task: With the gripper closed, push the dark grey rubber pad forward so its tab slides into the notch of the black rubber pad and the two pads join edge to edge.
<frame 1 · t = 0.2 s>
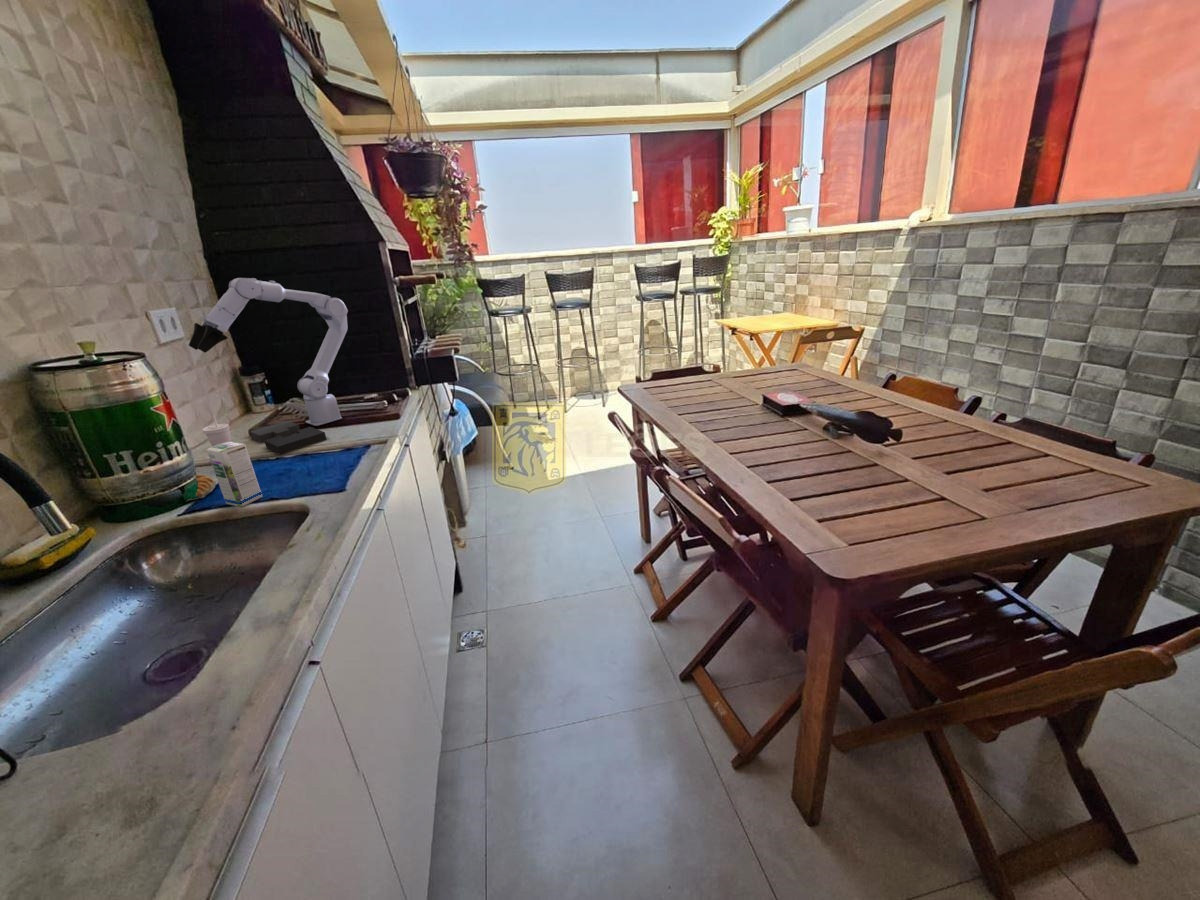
hand: (196, 349, 142), 31 cm above the counter, tool tilted 45°, fingers open, 7 cm apart
base pad: (296, 443, 154), on the counter
syrup box: (245, 501, 119), on the counter
pastry: (200, 494, 124), on the counter
smoothie: (227, 457, 146), on the counter
loose pad: (276, 434, 163), on the counter
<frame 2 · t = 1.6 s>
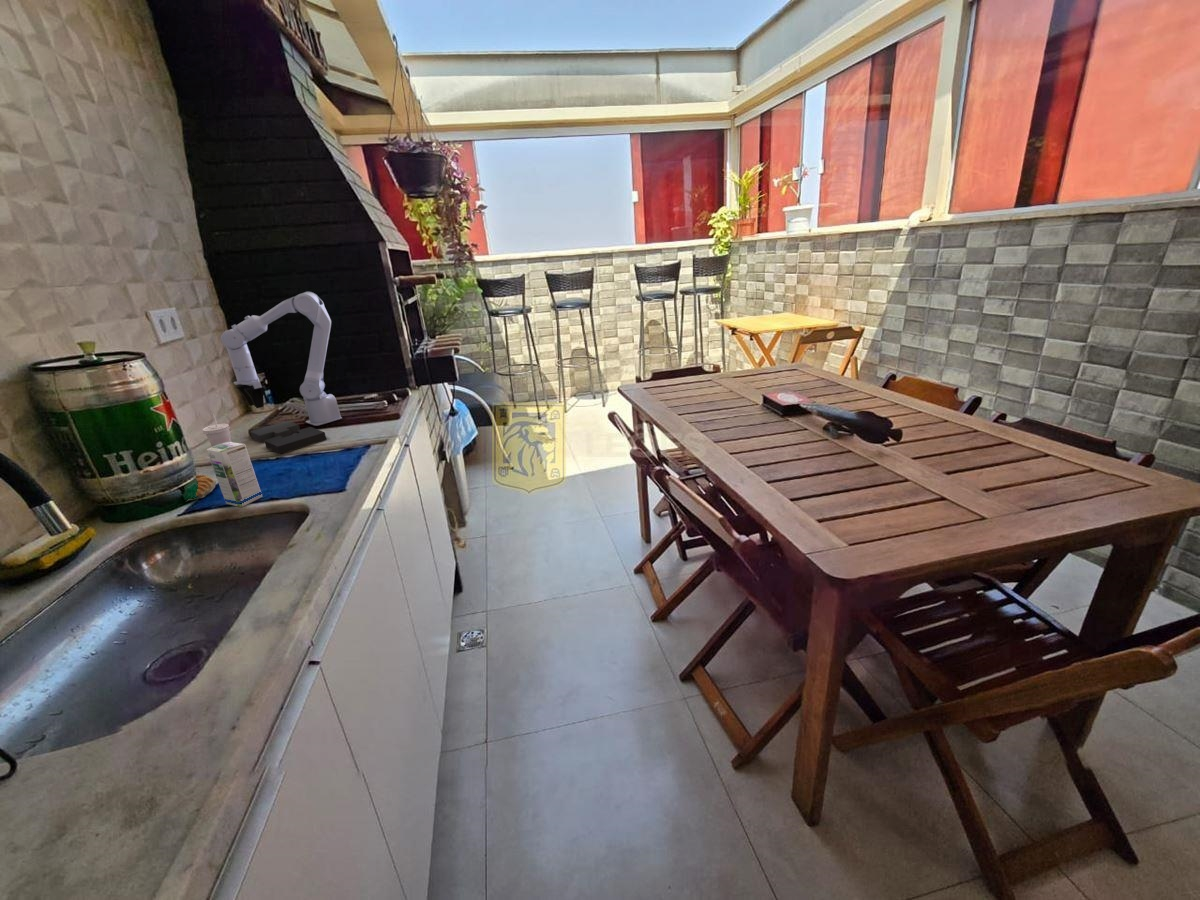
hand: (256, 406, 165), 8 cm above the counter, tool pointing down, fingers open, 5 cm apart
nothing on the counter moved.
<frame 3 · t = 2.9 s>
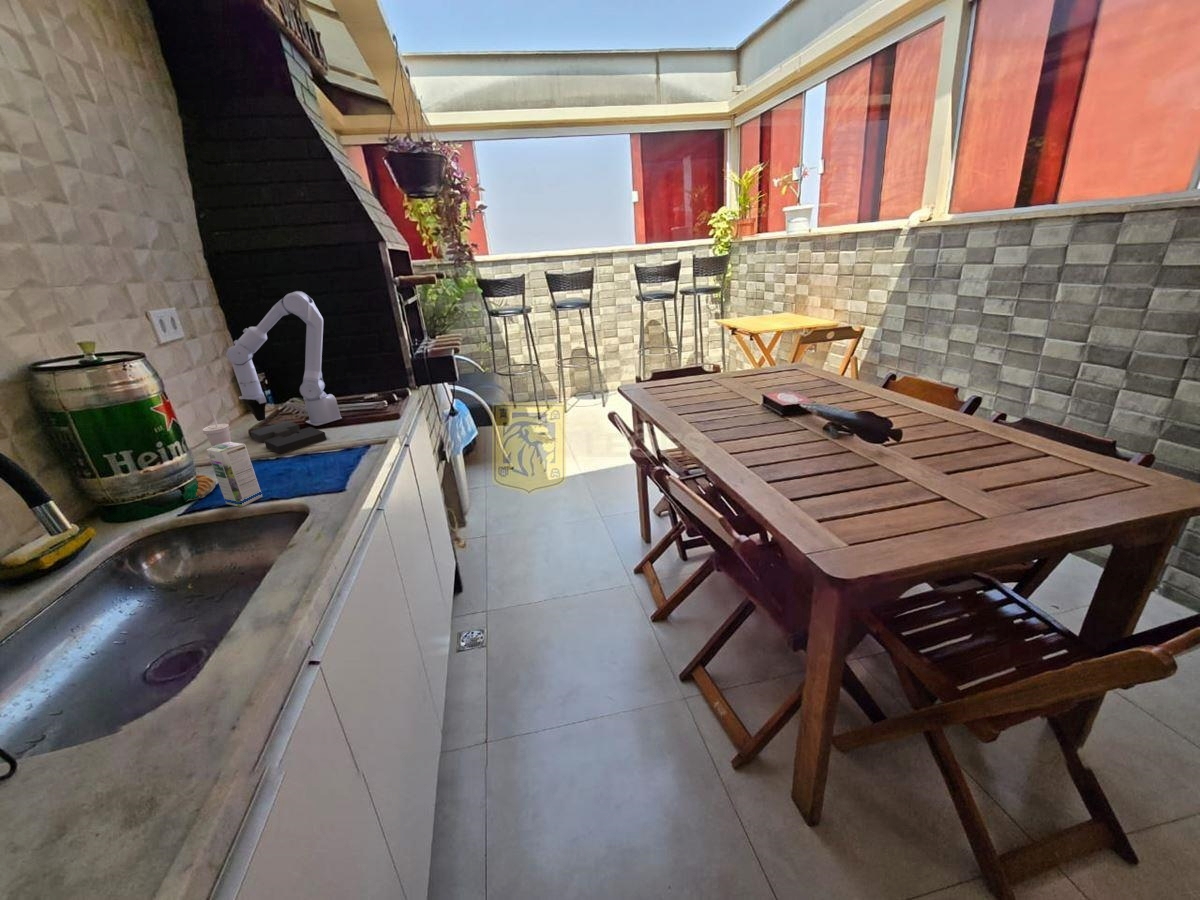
hand: (261, 420, 167), 3 cm above the counter, tool pointing down, fingers closed
nothing on the counter moved.
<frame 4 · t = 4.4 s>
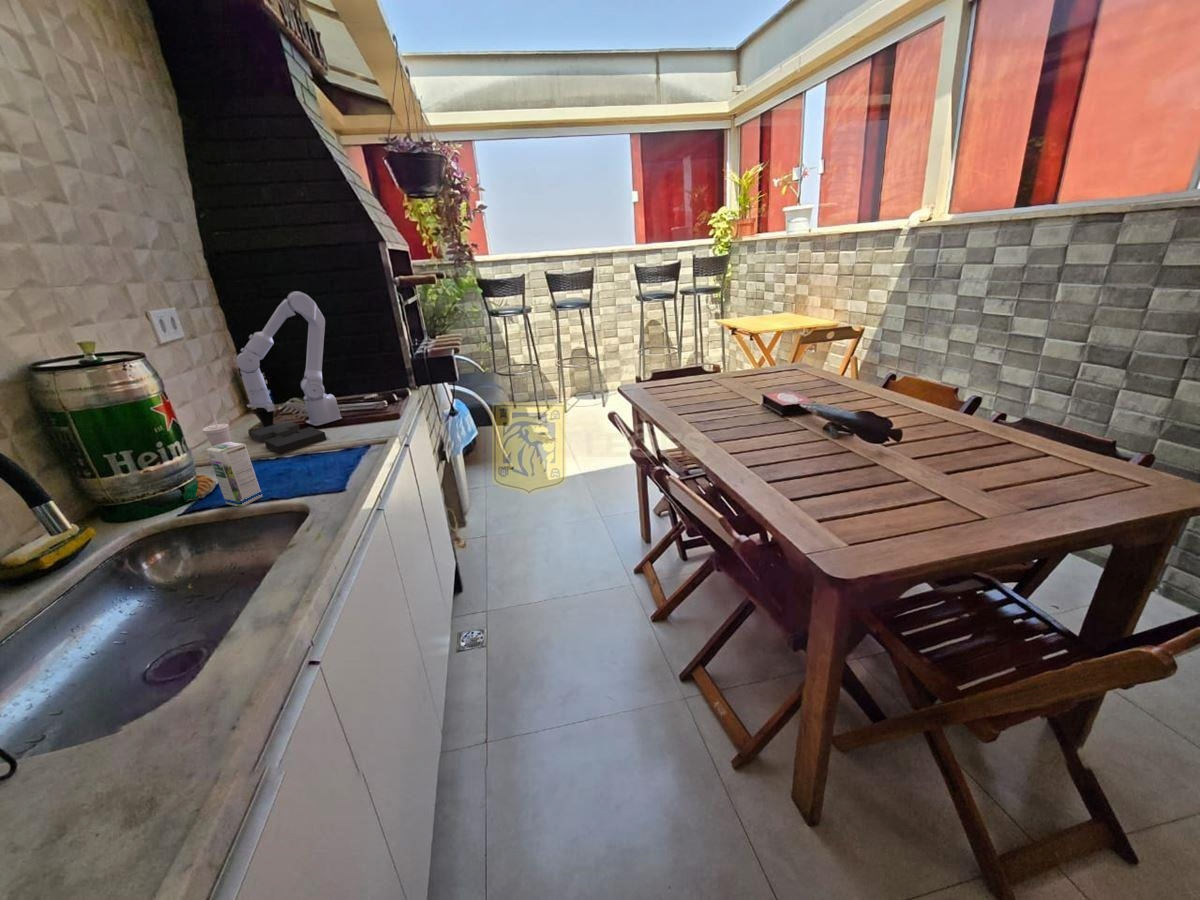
hand: (269, 428, 165), 1 cm above the counter, tool pointing down, fingers closed
loose pad: (276, 434, 163), on the counter, touching gripper
everything else where it was.
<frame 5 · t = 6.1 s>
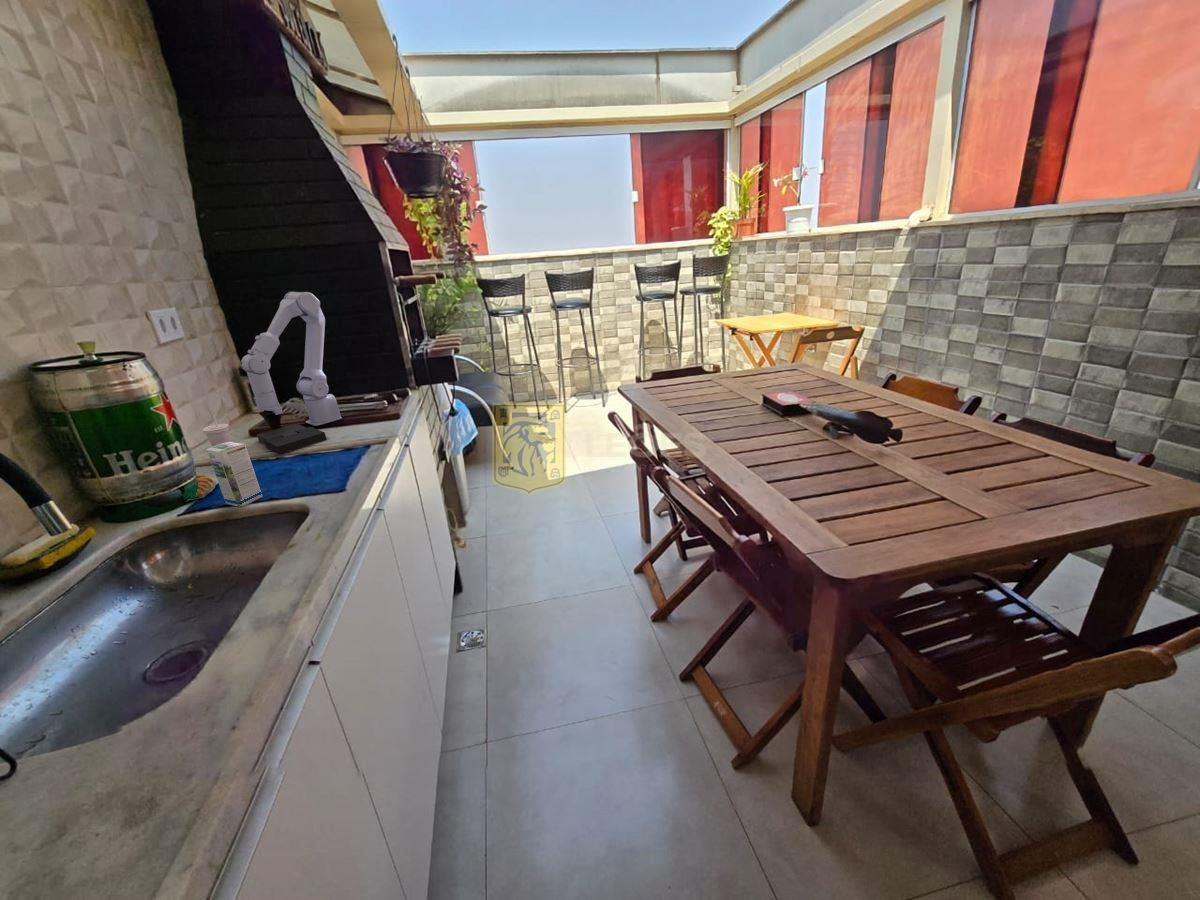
hand: (276, 431, 162), 1 cm above the counter, tool pointing down, fingers closed
loose pad: (284, 438, 159), on the counter, touching base pad, gripper
everything else where it was.
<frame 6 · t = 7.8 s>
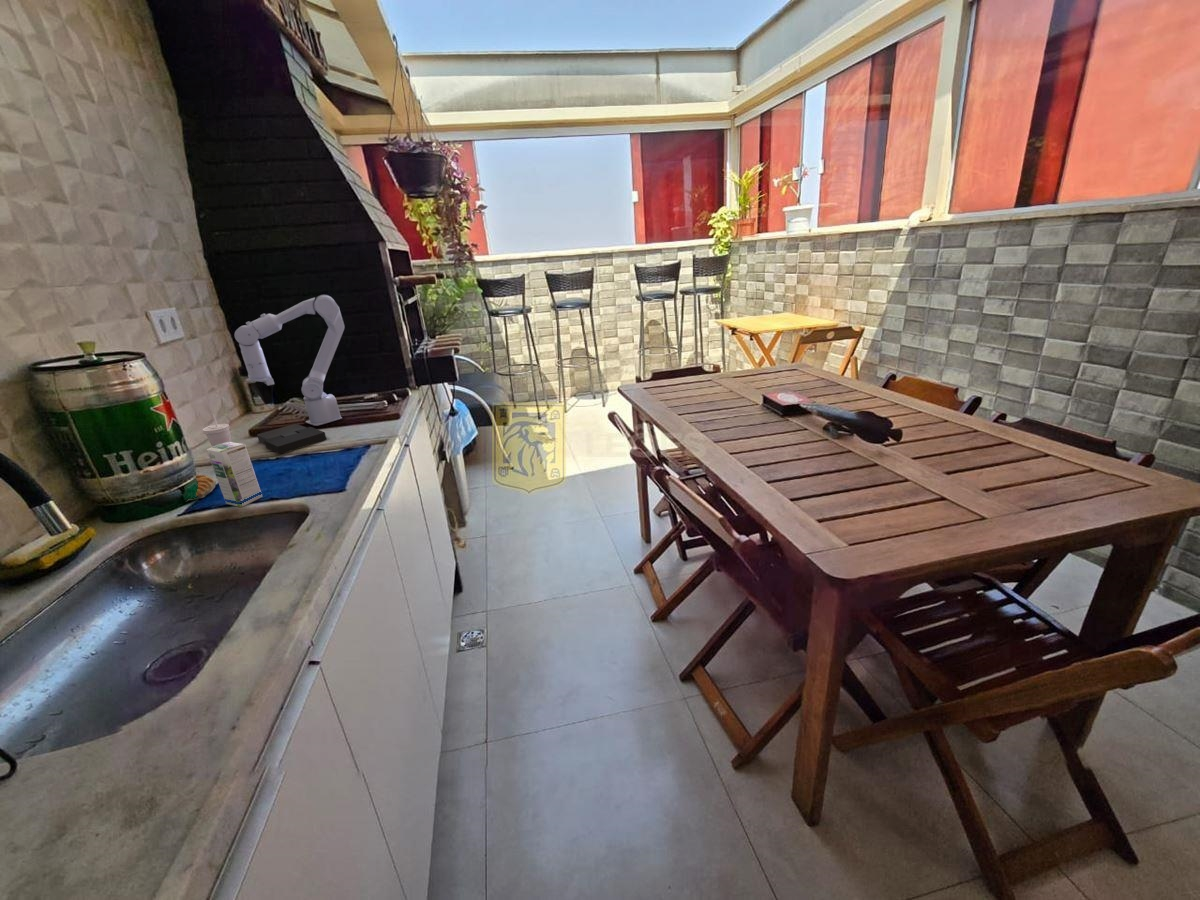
hand: (268, 403, 164), 9 cm above the counter, tool pointing down, fingers closed
loose pad: (284, 438, 159), on the counter, touching base pad
everything else where it was.
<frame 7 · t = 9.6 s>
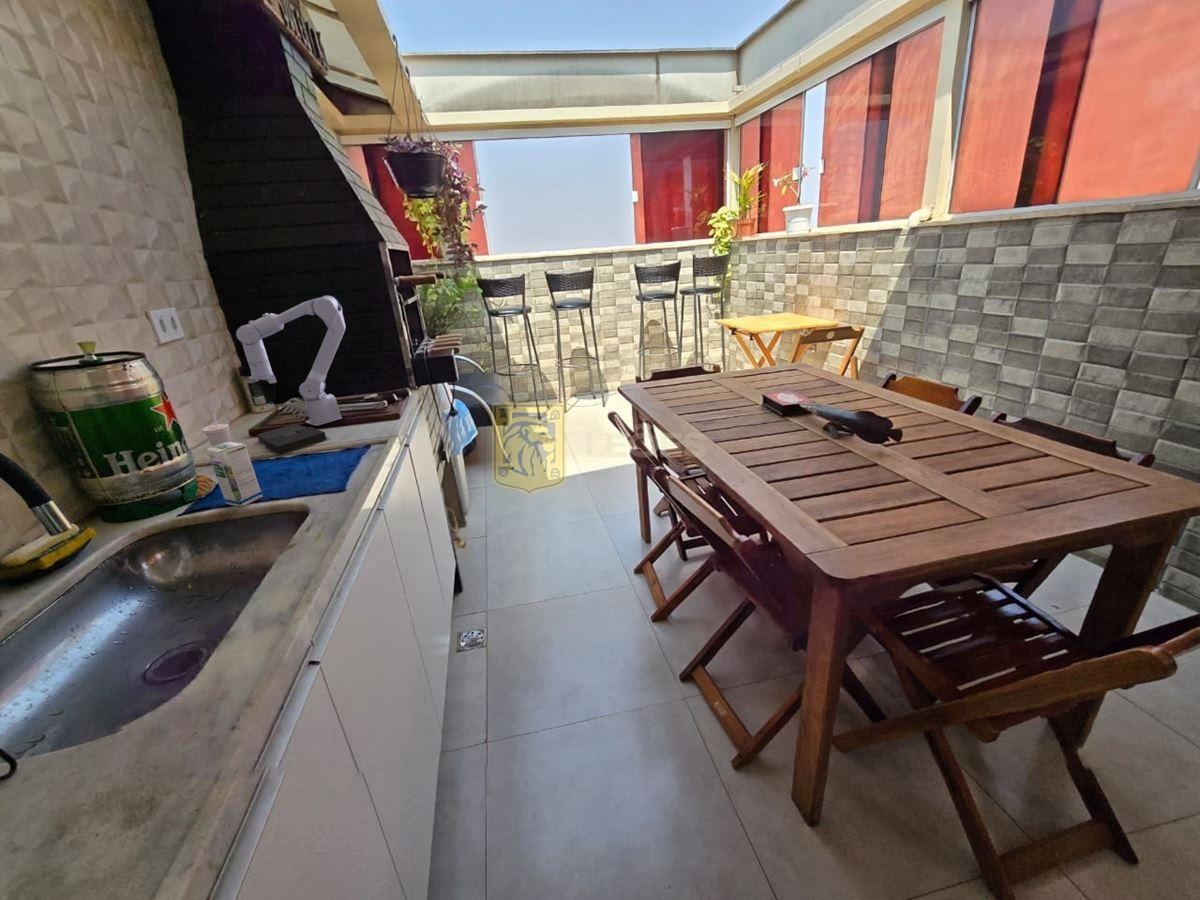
hand: (271, 401, 167), 9 cm above the counter, tool pointing down, fingers closed
nothing on the counter moved.
at the end: loose pad 0.4 cm from the target spot on the counter beside the base pad, on the counter; loose pad touching base pad, counter; loose pad moved 6.0 cm from its start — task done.
